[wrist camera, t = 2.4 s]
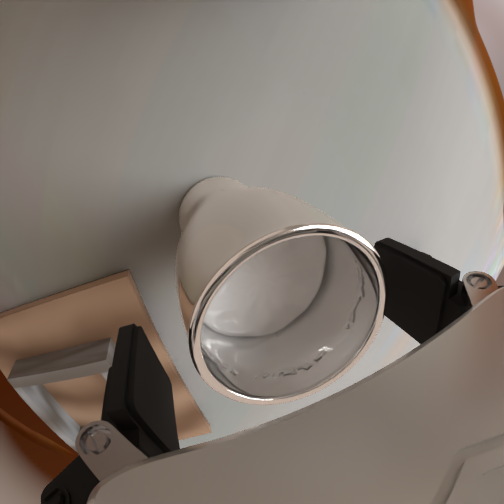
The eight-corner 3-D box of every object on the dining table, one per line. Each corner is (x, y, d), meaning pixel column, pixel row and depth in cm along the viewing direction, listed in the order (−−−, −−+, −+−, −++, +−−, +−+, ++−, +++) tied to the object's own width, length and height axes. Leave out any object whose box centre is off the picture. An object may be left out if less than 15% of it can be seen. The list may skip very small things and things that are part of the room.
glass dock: (-23, 321, 18) (-40, 344, 14) (129, 269, 21) (122, 295, 17) (79, 446, 26) (76, 469, 23) (209, 424, 30) (216, 451, 26)
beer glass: (162, 246, 21) (160, 402, 8) (189, 158, 19) (230, 175, 6) (244, 267, 24) (334, 406, 10) (274, 187, 22) (421, 253, 8)
